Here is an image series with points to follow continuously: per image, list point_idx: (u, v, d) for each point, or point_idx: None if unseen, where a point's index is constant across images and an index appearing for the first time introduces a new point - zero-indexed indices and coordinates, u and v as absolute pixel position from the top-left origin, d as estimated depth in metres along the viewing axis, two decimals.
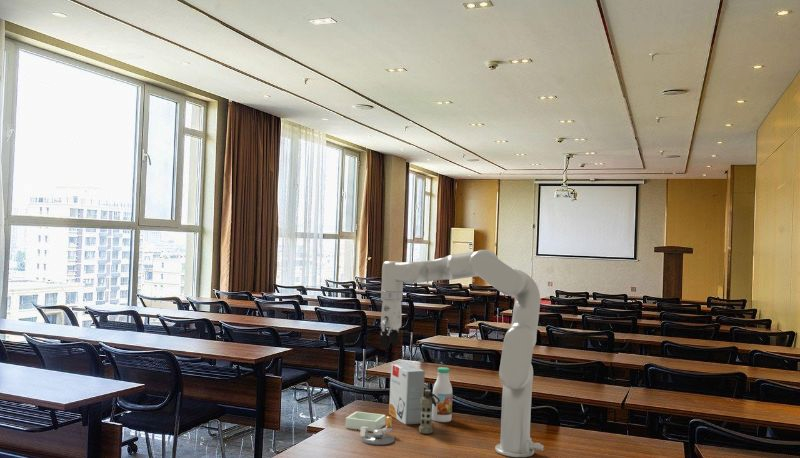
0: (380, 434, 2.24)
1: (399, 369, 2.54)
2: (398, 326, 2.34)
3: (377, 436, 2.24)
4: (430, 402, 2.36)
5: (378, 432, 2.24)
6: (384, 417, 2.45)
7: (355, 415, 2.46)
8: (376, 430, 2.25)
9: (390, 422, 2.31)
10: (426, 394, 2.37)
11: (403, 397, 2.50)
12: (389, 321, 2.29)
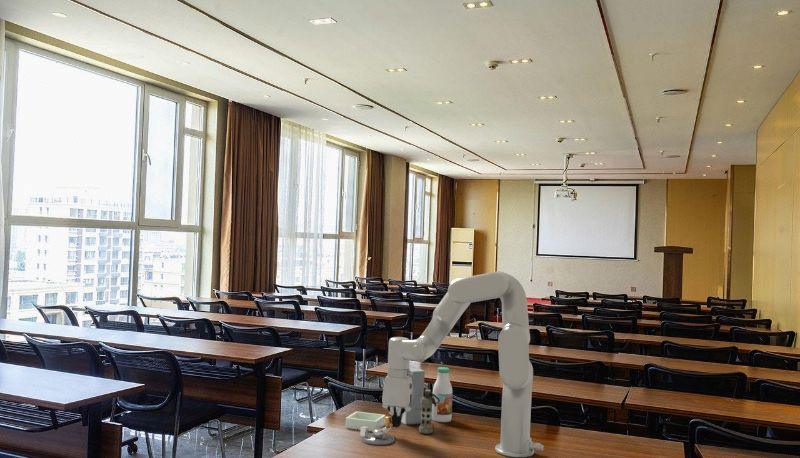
0: (380, 434, 2.24)
1: None
2: None
3: (377, 436, 2.24)
4: (430, 402, 2.36)
5: (378, 432, 2.24)
6: (384, 417, 2.45)
7: (355, 415, 2.46)
8: (376, 430, 2.25)
9: (389, 422, 2.31)
10: (426, 394, 2.37)
11: None
12: (412, 398, 2.30)
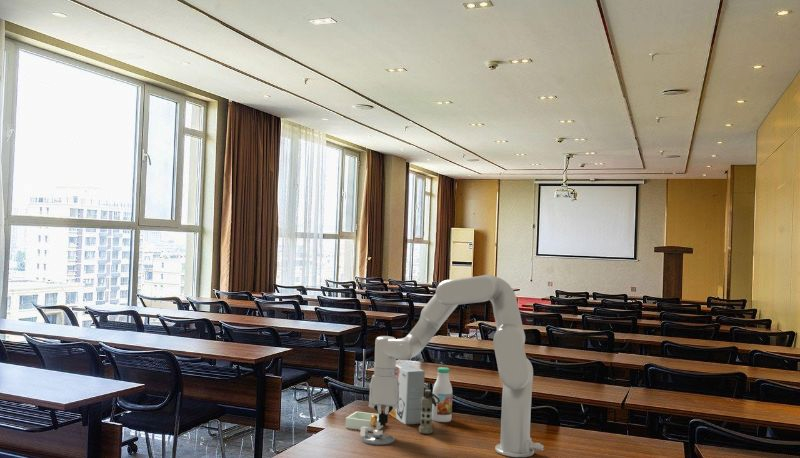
0: (382, 433, 2.25)
1: (399, 369, 2.54)
2: None
3: (380, 436, 2.24)
4: (430, 402, 2.36)
5: (381, 432, 2.24)
6: None
7: (355, 415, 2.46)
8: (377, 430, 2.25)
9: (376, 420, 2.32)
10: (426, 394, 2.37)
11: (403, 397, 2.50)
12: (398, 395, 2.34)
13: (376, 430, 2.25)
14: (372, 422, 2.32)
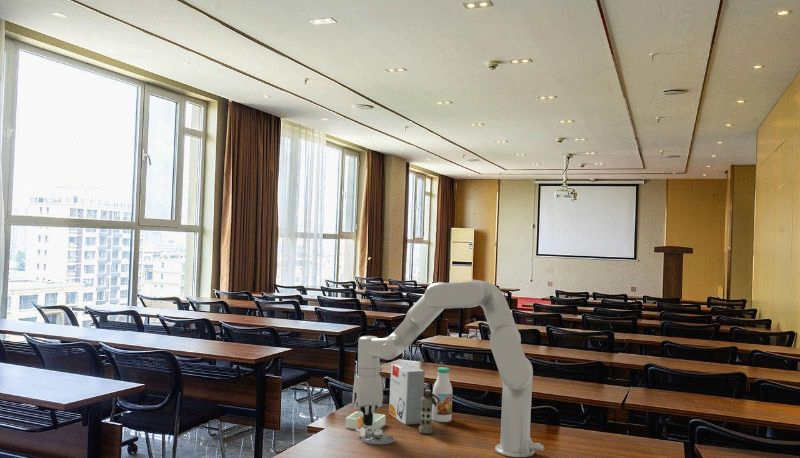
0: None
1: (399, 369, 2.54)
2: None
3: (382, 435, 2.25)
4: (430, 402, 2.36)
5: (382, 431, 2.25)
6: (384, 417, 2.45)
7: (355, 415, 2.46)
8: (378, 430, 2.25)
9: None
10: (426, 394, 2.37)
11: (403, 397, 2.50)
12: None
13: (377, 430, 2.25)
14: (361, 424, 2.28)
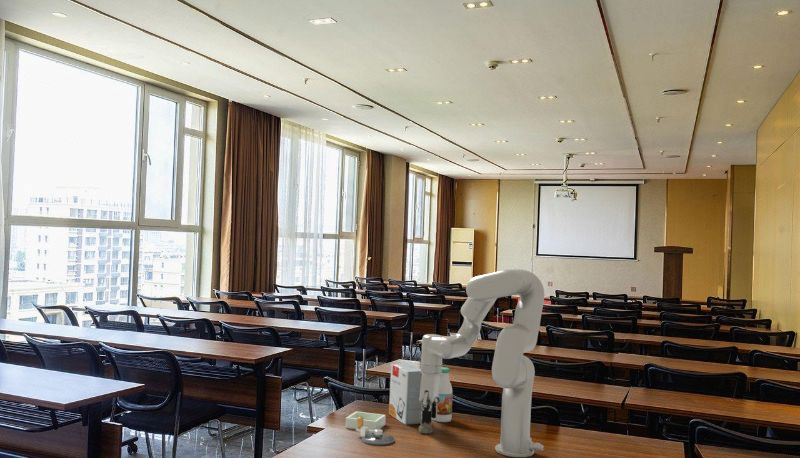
0: None
1: (399, 369, 2.54)
2: None
3: (382, 435, 2.25)
4: None
5: (382, 431, 2.25)
6: (384, 417, 2.45)
7: (355, 415, 2.46)
8: (378, 430, 2.25)
9: None
10: None
11: (403, 397, 2.50)
12: None
13: (377, 430, 2.25)
14: (361, 424, 2.28)
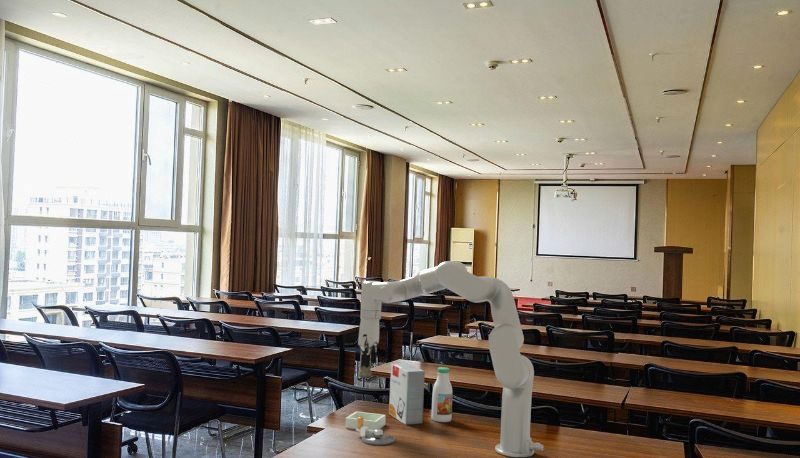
0: None
1: (399, 369, 2.54)
2: None
3: (382, 435, 2.25)
4: None
5: (382, 431, 2.25)
6: (384, 417, 2.45)
7: (355, 415, 2.46)
8: (378, 430, 2.25)
9: None
10: None
11: (403, 397, 2.50)
12: None
13: (377, 430, 2.25)
14: (361, 424, 2.28)
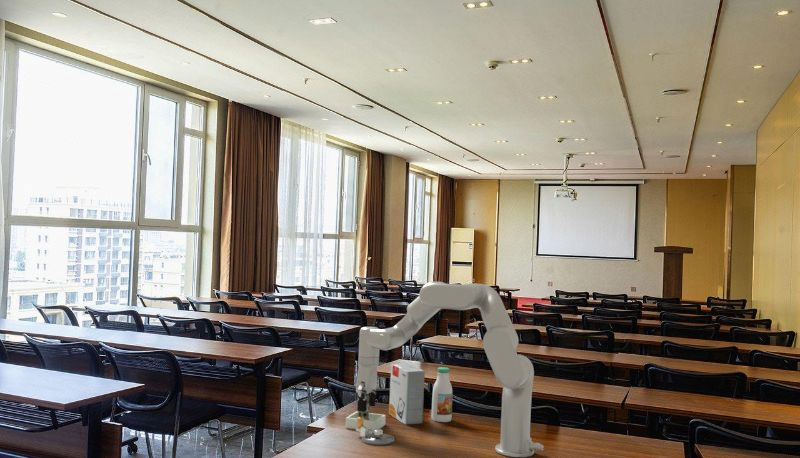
0: None
1: (399, 369, 2.54)
2: None
3: (382, 435, 2.25)
4: (367, 395, 2.40)
5: (382, 431, 2.25)
6: (384, 417, 2.45)
7: (355, 415, 2.46)
8: (378, 430, 2.25)
9: None
10: None
11: (403, 397, 2.50)
12: None
13: (377, 430, 2.25)
14: (361, 424, 2.28)
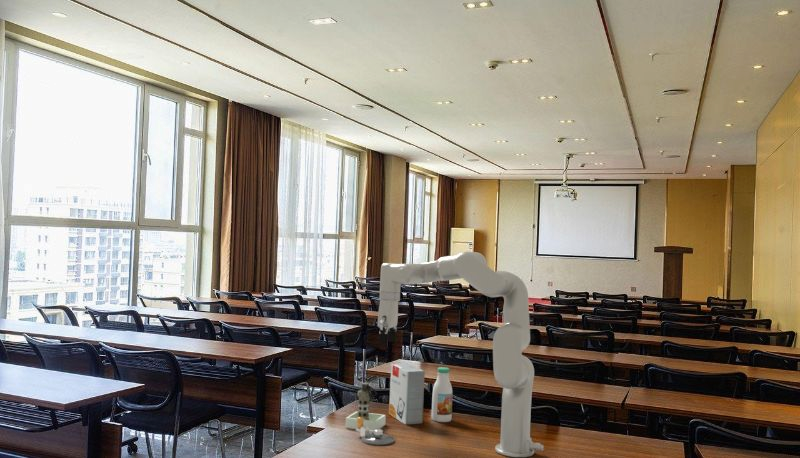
0: None
1: (399, 369, 2.54)
2: None
3: (382, 435, 2.25)
4: (367, 395, 2.40)
5: (382, 431, 2.25)
6: (384, 417, 2.45)
7: (355, 415, 2.46)
8: (378, 430, 2.25)
9: None
10: (363, 387, 2.41)
11: (403, 397, 2.50)
12: None
13: (377, 430, 2.25)
14: (361, 424, 2.28)
